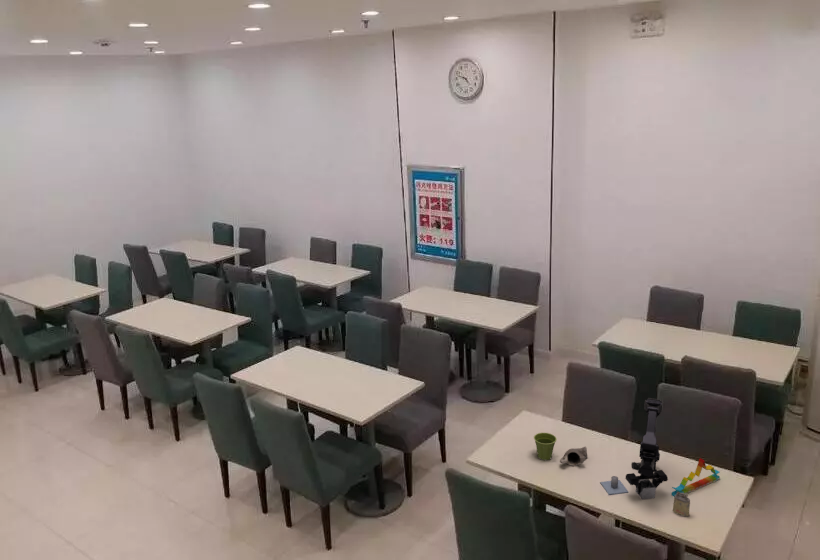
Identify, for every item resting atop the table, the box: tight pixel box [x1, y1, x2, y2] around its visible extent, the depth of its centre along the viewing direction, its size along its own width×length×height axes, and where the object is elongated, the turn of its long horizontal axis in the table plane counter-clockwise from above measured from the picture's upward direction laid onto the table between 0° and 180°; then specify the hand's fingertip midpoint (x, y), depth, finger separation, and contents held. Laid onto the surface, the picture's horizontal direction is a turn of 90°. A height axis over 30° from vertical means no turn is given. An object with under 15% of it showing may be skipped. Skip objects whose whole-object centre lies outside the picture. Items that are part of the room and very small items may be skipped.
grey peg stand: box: [599, 475, 630, 496], centre depth 317 cm, size 10×10×6 cm
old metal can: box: [672, 492, 691, 517], centre depth 296 cm, size 7×4×10 cm, turn 53°
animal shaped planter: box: [559, 446, 588, 467], centre depth 340 cm, size 16×9×15 cm
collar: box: [635, 479, 657, 500], centre depth 311 cm, size 7×7×6 cm
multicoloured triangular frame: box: [671, 457, 721, 498], centre depth 314 cm, size 30×3×15 cm, turn 118°
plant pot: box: [533, 432, 558, 461], centre depth 345 cm, size 12×12×11 cm
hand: (645, 492), depth 311 cm, fingers closed on collar, 7 cm apart
